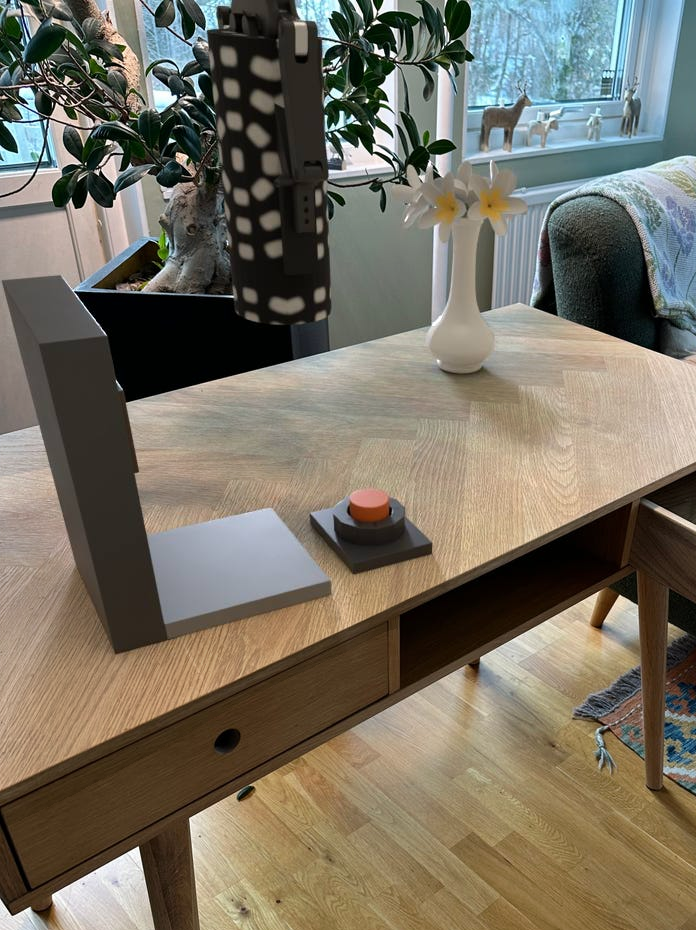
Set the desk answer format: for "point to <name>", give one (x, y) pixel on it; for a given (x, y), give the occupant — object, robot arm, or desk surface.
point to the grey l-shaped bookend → (117, 499)
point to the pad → (370, 537)
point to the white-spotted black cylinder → (261, 184)
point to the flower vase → (460, 251)
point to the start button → (369, 505)
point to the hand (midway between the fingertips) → (280, 257)
